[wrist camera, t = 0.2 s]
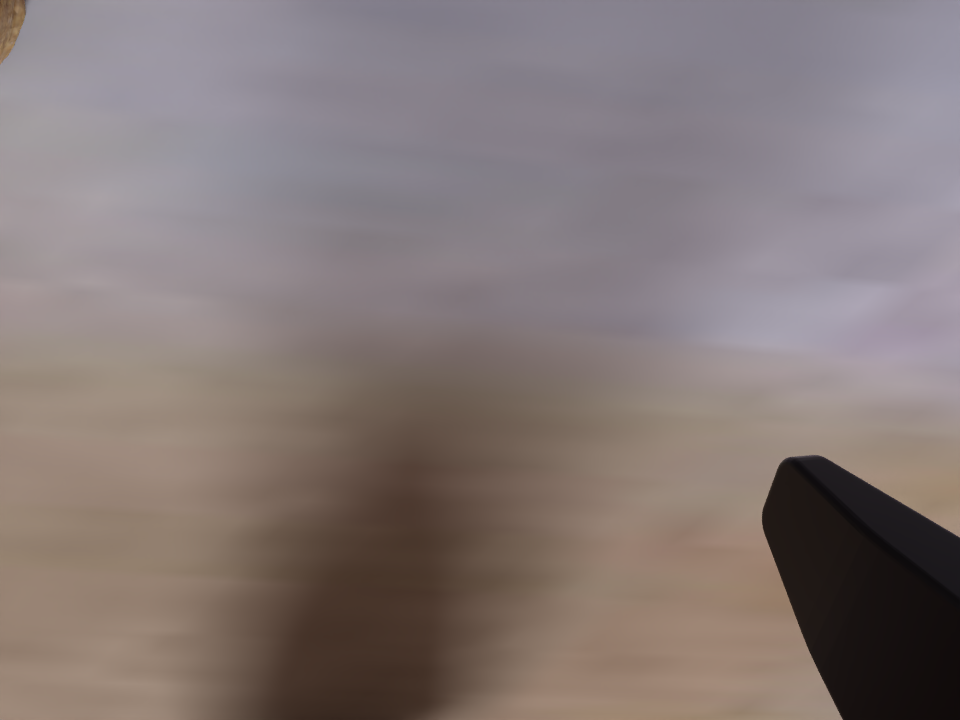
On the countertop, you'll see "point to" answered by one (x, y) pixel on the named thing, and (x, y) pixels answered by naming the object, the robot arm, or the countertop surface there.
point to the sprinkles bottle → (10, 24)
